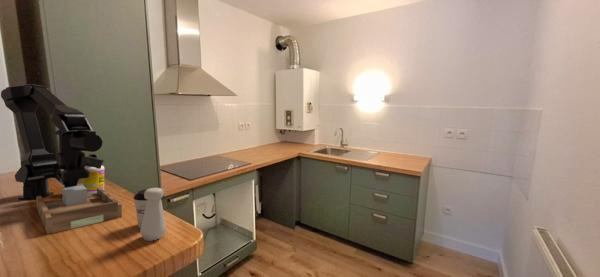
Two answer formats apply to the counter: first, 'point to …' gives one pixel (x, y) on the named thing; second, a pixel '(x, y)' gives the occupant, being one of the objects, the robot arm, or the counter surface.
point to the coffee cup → (140, 206)
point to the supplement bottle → (94, 179)
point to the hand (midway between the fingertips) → (71, 194)
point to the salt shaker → (153, 215)
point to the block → (74, 195)
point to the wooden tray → (78, 211)
